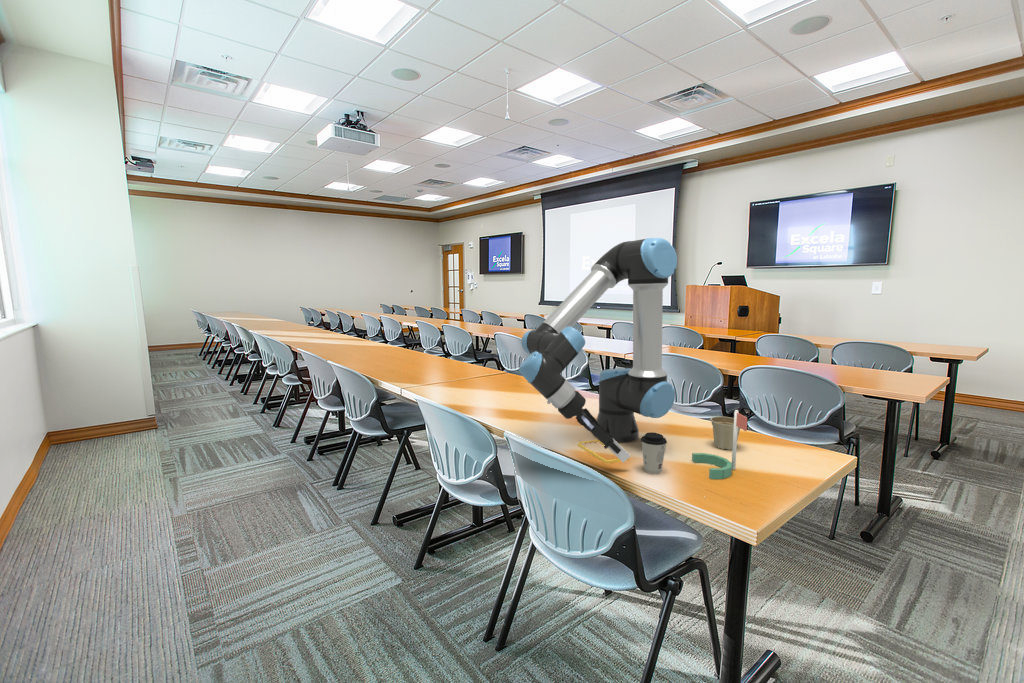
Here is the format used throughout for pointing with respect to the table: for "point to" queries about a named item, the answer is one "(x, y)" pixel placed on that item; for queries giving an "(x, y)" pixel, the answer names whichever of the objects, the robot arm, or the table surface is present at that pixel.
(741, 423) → the flag
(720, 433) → the flower pot
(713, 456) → the cup ring
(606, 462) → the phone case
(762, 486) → the table surface
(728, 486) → the table surface
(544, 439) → the table surface
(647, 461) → the coffee cup
